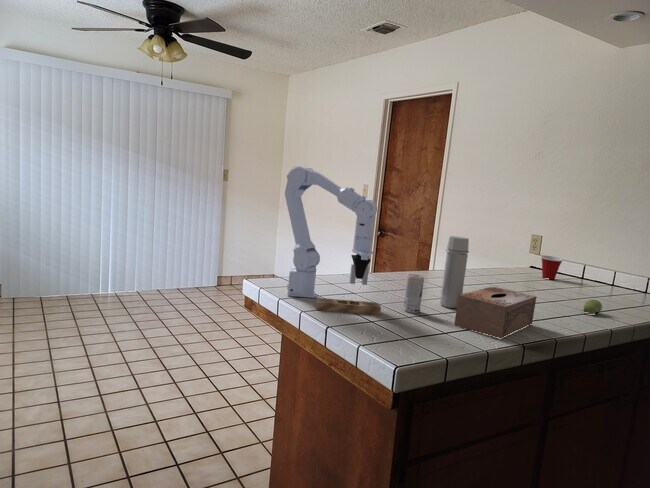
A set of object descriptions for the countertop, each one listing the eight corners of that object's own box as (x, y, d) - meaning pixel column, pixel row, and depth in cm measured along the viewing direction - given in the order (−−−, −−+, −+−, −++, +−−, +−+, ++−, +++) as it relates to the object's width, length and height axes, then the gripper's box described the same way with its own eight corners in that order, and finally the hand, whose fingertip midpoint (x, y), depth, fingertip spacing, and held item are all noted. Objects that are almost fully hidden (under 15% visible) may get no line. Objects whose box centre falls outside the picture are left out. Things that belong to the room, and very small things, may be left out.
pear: (605, 300, 173) (596, 307, 166) (603, 313, 174) (594, 320, 168) (589, 296, 177) (580, 303, 170) (587, 309, 178) (578, 316, 172)
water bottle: (445, 302, 167) (454, 235, 164) (464, 307, 162) (474, 239, 158) (432, 305, 161) (441, 236, 157) (451, 311, 155) (461, 239, 152)
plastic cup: (540, 279, 238) (544, 257, 237) (534, 275, 249) (538, 254, 247) (562, 282, 237) (566, 260, 235) (555, 278, 247) (559, 257, 246)
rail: (316, 309, 140) (317, 302, 140) (316, 305, 146) (316, 297, 145) (380, 315, 142) (381, 307, 141) (377, 310, 147) (378, 302, 147)
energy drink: (420, 310, 152) (425, 275, 150) (418, 314, 147) (423, 278, 145) (404, 307, 153) (409, 273, 152) (402, 311, 148) (406, 275, 147)
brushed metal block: (350, 283, 148) (352, 265, 147) (349, 281, 151) (351, 264, 150) (366, 284, 149) (368, 267, 148) (365, 283, 151) (367, 265, 150)
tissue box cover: (500, 340, 129) (505, 306, 127) (454, 326, 138) (458, 294, 137) (531, 326, 148) (536, 296, 146) (489, 314, 157) (493, 286, 156)
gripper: (379, 241, 141) (374, 283, 142) (371, 235, 155) (366, 274, 157) (357, 239, 140) (352, 281, 142) (351, 233, 154) (346, 272, 156)
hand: (358, 277), depth 149 cm, fingers closed on brushed metal block, 2 cm apart
